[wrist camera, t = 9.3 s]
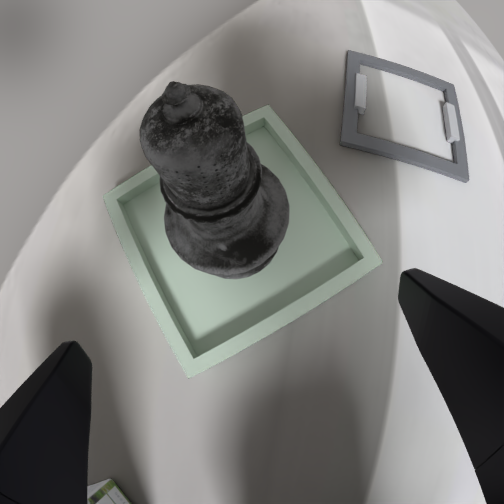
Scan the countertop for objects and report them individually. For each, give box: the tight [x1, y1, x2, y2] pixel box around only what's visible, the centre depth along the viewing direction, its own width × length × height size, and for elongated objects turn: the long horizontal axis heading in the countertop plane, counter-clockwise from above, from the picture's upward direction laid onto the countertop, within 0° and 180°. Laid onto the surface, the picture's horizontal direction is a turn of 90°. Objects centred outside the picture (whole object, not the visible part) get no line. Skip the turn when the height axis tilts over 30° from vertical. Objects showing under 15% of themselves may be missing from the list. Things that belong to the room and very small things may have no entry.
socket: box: [340, 50, 469, 183], centre depth 19 cm, size 10×10×1 cm
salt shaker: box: [140, 81, 290, 279], centre depth 12 cm, size 6×6×12 cm
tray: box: [103, 105, 383, 379], centre depth 17 cm, size 12×12×2 cm
